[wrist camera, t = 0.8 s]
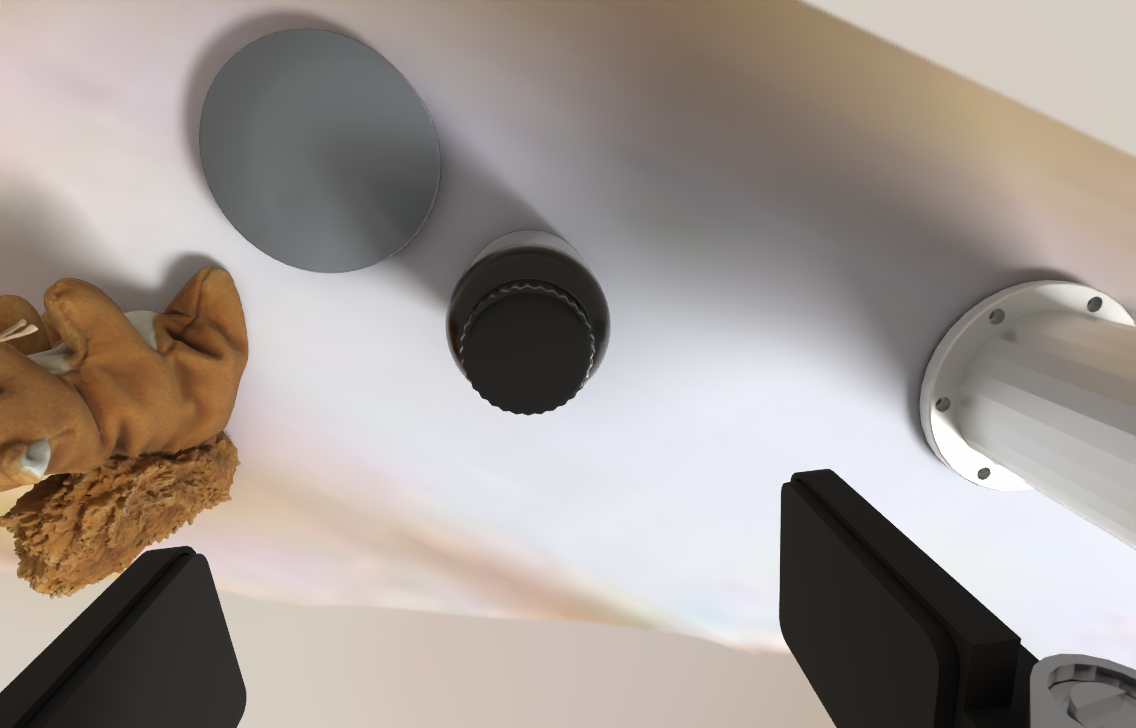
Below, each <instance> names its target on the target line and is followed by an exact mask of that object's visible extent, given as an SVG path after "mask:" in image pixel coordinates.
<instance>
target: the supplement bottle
mask: <svg viewBox="0 0 1136 728" xmlns="http://www.w3.org/2000/svg"><path fill="white" fill-rule="evenodd" d="M446 337H447V342H448V346H449V349H450V352H451V355H452V357H453V359H454V361H455V363H456V365H457V367H458V368H459V370H460V371H461V373H462V374H463V375H464V376H465V378H466V379H467V380H468V381H469V382H470V383H471V384H472V387H473V389H475V390H476V391H478V392H479V394H480V396H481V397H482V398H483V399H486V400H488V401H489V403H490V404H491V405H492V406H497V407H499V408H500V409H501V410H503V411H511V412H512V413H514V414H521V413H523V414H525V415H531V414H534V413H536V414H542V413H544V412H545V411H553V410H555V409H556V408H557V407H558V406H562V405H565V404H566V402H567V401H568V400H569V399H572V398H574V397H575V395H576V393H577V391H579V390H580V389H582V388H583V385H585V384H586V383H587V382H588V381H589V379H590V378H591V377H592V376H593V375H594V373H595V372H596V371H597V369H598V368H599V366H600V364H601V362H602V360H603V358H604V356H605V353H606V350H607V347H608V343H609V338H610V314H609V309H608V305H607V301H606V298H605V295H604V293H603V291H602V289H601V287H600V285H599V283H598V282H597V280H596V278H595V277H594V275H593V274H592V272H591V270H590V269H589V267H588V266H587V264H586V262H585V261H584V259H583V258H582V257H581V255H580V254H579V253H578V252H577V251H576V250H575V249H574V248H573V247H572V246H571V245H570V244H568V243H567V242H566V241H564V240H563V239H561V238H559V237H557V236H555V235H552V234H550V233H546V232H543V231H537V230H521V231H515V232H511V233H508V234H505V235H503V236H501V237H499V238H497V239H495V240H494V241H492V242H491V243H490V244H488V245H487V246H486V247H485V248H484V249H483V250H482V251H481V252H480V253H479V254H478V255H477V257H476V258H475V259H474V261H473V262H472V263H471V265H470V266H469V267H468V269H467V270H466V271H465V273H464V274H463V275H462V277H461V278H460V280H459V281H458V283H457V285H456V287H455V288H454V291H453V293H452V295H451V298H450V301H449V304H448V309H447V314H446Z"/></svg>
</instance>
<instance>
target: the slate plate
mask: <svg viewBox="0 0 1136 728" xmlns="http://www.w3.org/2000/svg"><path fill="white" fill-rule="evenodd" d="M199 143H200V155H201V160H202V165H203V170H204V173H205V176H206V179H207V182H208V185H209V188H210V190H211V192H212V194H213V196H214V198H215V200H216V202H217V204H218V205H219V207H220V209H221V210H222V212H223V213H224V215H225V216H226V218H227V219H228V220H229V221H230V223H231V224H232V225H233V226H234V228H235V229H236V230H237V231H238V232H239V233H240V234H241V235H242V236H243V237H244V238H245V239H246V240H248V241H249V242H250V243H251V244H253V245H254V246H255V247H256V248H258V249H259V250H261V251H262V252H264V253H265V254H267V255H269V256H270V257H272V258H274V259H276V260H278V261H280V262H282V263H285V264H287V265H290V266H293V267H296V268H299V269H303V270H308V271H313V272H321V273H342V272H349V271H354V270H359V269H362V268H365V267H368V266H371V265H374V264H376V263H378V262H380V261H382V260H384V259H386V258H388V257H390V256H392V255H394V254H395V253H397V252H398V251H399V250H401V249H402V248H404V247H405V246H406V245H407V244H408V243H409V242H410V241H411V240H412V239H413V238H414V237H415V236H416V235H417V233H418V232H419V231H420V230H421V229H422V227H423V225H424V224H425V222H426V221H427V219H428V217H429V215H430V213H431V211H432V208H433V206H434V204H435V200H436V197H437V194H438V190H439V183H440V177H441V156H440V147H439V142H438V138H437V133H436V130H435V127H434V124H433V121H432V119H431V116H430V114H429V112H428V110H427V108H426V106H425V104H424V102H423V100H422V99H421V97H420V96H419V94H418V93H417V91H416V90H415V88H414V87H413V86H412V85H411V84H410V82H409V81H408V80H407V79H406V78H405V77H404V76H403V75H402V74H401V73H400V72H399V71H398V70H397V69H396V68H395V67H394V66H393V65H391V64H390V63H389V62H388V61H387V60H386V59H385V58H383V57H382V56H381V55H379V54H378V53H376V52H375V51H374V50H372V49H371V48H369V47H367V46H365V45H363V44H362V43H360V42H358V41H356V40H354V39H351V38H348V37H346V36H343V35H341V34H337V33H333V32H328V31H324V30H315V29H292V30H286V31H281V32H276V33H273V34H270V35H267V36H265V37H262V38H260V39H258V40H256V41H254V42H252V43H250V44H248V45H247V46H245V47H244V48H243V49H241V50H240V51H239V52H238V53H236V54H235V55H234V56H233V57H232V58H231V59H230V60H229V61H228V62H227V63H226V64H225V65H224V66H223V68H222V69H221V71H220V72H219V73H218V75H217V76H216V78H215V79H214V81H213V83H212V85H211V87H210V89H209V91H208V94H207V97H206V100H205V103H204V106H203V110H202V115H201V120H200V133H199Z"/></svg>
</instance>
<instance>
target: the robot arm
mask: <svg viewBox="0 0 1136 728" xmlns="http://www.w3.org/2000/svg"><path fill="white" fill-rule="evenodd" d="M920 416H921V424H922V427H923V431H924V434H925V437H926V440H927V442H928V443H929V445H930V447H931V448H932V450H933V452H934V453H935V455H936V456H937V457H938V458H939V459H940V460H941V461H942V462H943V463H944V464H945V465H946V466H947V467H948V468H949V469H951V470H953V471H954V472H955V473H957V474H958V475H960V476H961V477H963V478H964V479H966V480H968V481H970V482H972V483H974V484H976V485H979V486H982V487H986V488H991V489H995V490H1007V491H1019V490H1026V489H1035V490H1036V491H1038V492H1040V493H1041V494H1043V495H1045V496H1046V497H1048V498H1050V499H1051V500H1053V501H1055V502H1057V503H1058V504H1060V505H1062V506H1063V507H1065V508H1067V509H1068V510H1070V511H1072V512H1073V513H1075V514H1077V515H1078V516H1080V517H1082V518H1083V519H1085V520H1087V521H1088V522H1090V523H1092V524H1093V525H1095V526H1097V527H1099V528H1100V529H1102V530H1104V531H1105V532H1107V533H1109V534H1110V535H1112V536H1114V537H1115V538H1117V539H1119V540H1120V541H1122V542H1124V543H1125V544H1127V545H1129V546H1130V547H1132V548H1134V549H1135V550H1136V325H1135V323H1134V321H1133V319H1132V317H1131V316H1130V315H1129V314H1128V312H1127V311H1126V310H1125V309H1124V307H1123V306H1122V305H1121V304H1120V303H1119V302H1117V301H1116V300H1115V299H1113V298H1112V297H1111V296H1109V295H1108V294H1107V293H1105V292H1102V291H1100V290H1098V289H1095V288H1093V287H1091V286H1088V285H1083V284H1078V283H1073V282H1068V281H1057V280H1040V281H1032V282H1025V283H1022V284H1019V285H1015V286H1012V287H1009V288H1006V289H1003V290H1001V291H999V292H997V293H996V294H994V295H992V296H990V297H988V298H986V299H984V300H983V301H981V302H980V303H978V304H977V305H976V306H974V307H973V308H972V309H970V310H969V311H968V312H966V313H965V314H964V315H963V316H962V317H961V318H960V319H959V320H958V321H957V322H956V323H955V324H954V325H953V326H952V327H951V328H950V329H949V331H948V332H947V334H946V335H945V336H944V338H943V339H942V341H941V342H940V343H939V345H938V346H937V348H936V350H935V352H934V354H933V356H932V358H931V360H930V362H929V364H928V366H927V369H926V372H925V376H924V379H923V383H922V386H921V395H920ZM779 620H780V627H781V631H782V634H783V637H784V639H785V641H786V643H787V645H788V647H789V649H790V650H791V652H792V654H793V655H794V657H795V658H796V660H797V662H798V663H799V665H800V667H801V669H802V670H803V672H804V674H805V675H806V677H807V679H808V680H809V682H810V684H811V685H812V687H813V689H814V691H815V692H816V694H817V695H818V697H819V699H820V701H821V702H822V704H823V706H824V707H825V709H826V711H827V712H828V714H829V716H830V717H831V719H832V721H833V722H834V724H835V726H836V727H837V728H1136V670H1135V669H1132V668H1129V667H1126V666H1124V665H1121V664H1118V663H1115V662H1112V661H1110V660H1106V659H1102V658H1097V657H1092V656H1087V655H1082V654H1058V655H1054V656H1049V657H1045V658H1043V659H1042V660H1040V661H1039V660H1038V659H1037V658H1036V657H1035V656H1033V655H1032V654H1031V653H1030V652H1029V651H1028V650H1027V649H1026V648H1025V647H1024V646H1022V645H1021V644H1020V643H1021V638H1020V637H1019V636H1018V635H1017V634H1015V633H1014V632H1013V631H1012V630H1011V629H1010V628H1009V627H1008V626H1006V625H1005V624H1004V623H1003V622H1002V621H1001V620H1000V619H999V618H997V617H996V616H995V615H994V614H993V613H992V612H991V611H990V610H988V609H987V608H986V607H985V606H984V605H983V604H982V603H981V602H980V601H978V600H977V599H976V598H975V597H974V596H973V595H972V594H971V593H969V592H968V591H967V590H966V589H965V588H964V587H963V586H962V585H960V584H959V583H958V582H957V581H956V580H955V579H954V578H953V577H951V576H950V575H949V574H948V573H947V572H946V571H945V570H944V569H942V568H941V567H940V566H939V565H938V564H937V563H936V562H935V561H933V560H932V559H931V558H930V557H929V556H928V555H927V554H926V553H924V552H923V551H922V550H921V549H920V548H919V547H918V546H917V545H916V544H914V543H913V542H912V541H911V540H910V539H909V538H908V537H907V536H905V535H904V534H903V533H902V532H901V531H900V530H899V529H898V528H896V527H895V526H894V525H893V524H892V523H891V522H890V521H889V520H887V519H886V518H885V517H884V516H883V515H882V514H881V513H880V512H878V511H877V510H876V509H875V508H874V507H873V506H872V505H871V504H869V503H868V502H867V501H866V500H865V499H864V498H863V497H862V496H860V495H859V494H858V493H857V492H856V491H855V490H854V489H853V488H852V487H850V486H849V485H848V484H847V483H846V482H845V481H844V480H843V479H841V478H840V477H839V476H838V475H837V474H836V473H835V472H834V471H832V470H830V469H822V470H814V471H806V472H797V473H794V474H793V475H792V478H791V481H790V482H787V483H784V484H783V486H782V489H781V534H780V601H779ZM245 706H246V689H245V685H244V682H243V679H242V675H241V672H240V668H239V665H238V661H237V658H236V655H235V652H234V648H233V645H232V642H231V638H230V635H229V631H228V628H227V625H226V621H225V618H224V614H223V612H222V608H221V605H220V601H219V598H218V594H217V591H216V588H215V584H214V581H213V578H212V574H211V571H210V568H209V564H208V561H207V559H206V557H205V556H204V555H202V554H196V552H195V551H194V550H193V549H192V548H191V547H189V546H181V547H173V548H165V549H156V550H150V551H146V552H145V553H143V554H142V555H141V556H140V557H139V558H138V559H137V560H136V561H134V562H133V563H132V564H131V565H130V566H129V567H128V568H127V569H126V570H125V571H124V572H123V573H122V574H121V575H120V576H119V577H118V578H117V579H116V580H115V581H114V582H113V583H112V584H111V585H110V586H109V587H108V588H107V589H106V590H105V591H104V592H103V593H102V594H101V595H100V596H99V597H98V598H97V599H96V600H95V601H94V602H93V603H92V604H91V605H90V606H89V607H88V608H87V609H85V611H83V612H82V613H81V614H80V615H79V616H78V617H77V618H76V619H75V620H74V621H73V622H72V623H71V624H70V625H69V626H68V627H67V628H66V629H65V630H64V631H63V632H62V633H61V634H60V635H59V636H58V637H57V638H56V639H55V640H54V641H53V642H52V643H51V644H50V645H49V646H48V647H47V648H46V649H45V650H44V651H43V652H42V653H41V654H40V655H39V656H37V657H36V658H35V659H34V660H33V661H32V662H31V663H30V664H29V665H28V666H27V667H26V668H25V669H24V670H23V671H22V672H21V673H20V674H19V675H18V676H17V677H16V678H15V679H14V680H13V681H12V682H11V683H10V684H9V685H8V686H7V687H6V688H5V689H4V690H3V691H2V692H1V693H0V728H237V726H238V724H239V722H240V720H241V718H242V716H243V713H244V710H245Z"/></svg>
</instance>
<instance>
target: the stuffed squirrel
mask: <svg viewBox="0 0 1136 728" xmlns="http://www.w3.org/2000/svg"><path fill="white" fill-rule="evenodd" d="M44 305H45V308H46V310H47V311H45V313H44V314H43V315H42V316H41V317H40V316H39V314H38V312H37V311H36V310H35V308H34V307H33V306H32V305H31V304H30V303H29V302H27V301H26V300H25V299H23V298H21V297H18V296H14V295H3V296H0V492H3V491H6V490H10V489H13V488H17V487H20V486H23V485H30V484H34V487H33V489H32V490H31V491H29V492H26V493H25V494H24V495H23V496H22V497H21V498H19V499H17V502H16V505H15V506H14V507H13V508H11V509H10V512H7V513H6V514H5V516H1V517H0V526H1V527H7V531H8V530H9V532H10V533H14V534H15V535H14V537H13V538H17V540H16V541H15V542H14V544H15V545H17V546H15V547H16V549H15V550H14V551H16V553H15V554H16V555H18V556H19V559H21V562H20V563H19V564H18V565H20V566H19V568H18V570H17V576H18V578H20V579H21V578H24V577H25V580H27V581H29V582H30V588H33V590H35V591H37V592H38V593H42V594H43V595H44V594H45V593H46V592H47V593H46V594H50V597H51V599H53V598H54V596H55V595H58V598H60V597H62V596H63V594H65V595H66V596H69V597H70V596H71V595H72V594H74V593H76V592H77V591H79V590H80V589H83V588H84V587H85V586H86V585H87V584H95V583H96V582H97V583H98V582H99V581H100V580H103V579H104V578H105V577H107V576H108V575H110V574H112V573H113V572H118V573H121V572H122V571H123V570H124V568H128V567H129V566H130V563H131V562H132V560H133V559H134V558H135V557H136V556H137V555H138V554H139V553H140V552H141V551H142V550H143V549H144V548H145V547H146V546H149V545H152V543H153V542H154V541H155V540H156V541H157V542H158V543H160V542H161V541H162V540H163V539H164V538H166V539H168V538H169V535H170V533H173V534H175V533H176V531H177V530H178V528H179V527H182V526H183V524H184V522H185V521H186V520H187V521H188V523H189V525H191V524H192V523H193V519H194V517H196V514H197V513H200V512H201V511H202V510H203V509H204V508H206V509H212V506H216V505H218V503H220V502H224V501H225V502H226V501H227V500H230V501H231V499H232V498H231V497H230V498H229V488H230V487H231V485H232V484H233V475H234V473H235V471H236V466H238V465H241V464H240V462H239V461H238V457H237V448H235V446H234V445H233V444H232V443H231V441H230V439H228V438H227V436H226V435H225V434H224V433H223V432H222V430H223V429H224V428H225V427H226V425H227V424H228V421H229V418H230V416H231V413H232V410H233V407H234V403H235V399H236V395H237V391H238V387H239V383H240V379H241V376H242V373H243V371H244V369H245V367H246V364H247V360H248V341H247V330H246V325H245V318H244V313H243V309H242V304H241V301H240V297H239V294H238V292H237V289H236V287H235V285H234V281H233V278H232V276H231V275H230V273H229V272H227V271H225V270H222V269H217V268H212V267H206V268H204V269H202V270H201V271H200V272H198V273H196V274H195V275H194V276H193V278H192V279H190V280H189V281H188V283H187V284H186V285H185V286H184V287H183V289H182V290H181V291H180V292H179V293H178V295H177V296H176V297H175V299H174V300H173V302H172V303H171V304H170V305H169V307H168V308H167V309H166V310H165V312H164V313H163V314H159V313H156V312H153V311H148V310H137V311H132V312H126V313H123V312H122V311H121V309H120V308H119V307H118V306H117V305H116V303H114V302H113V301H112V300H111V299H110V298H109V297H108V296H107V295H106V294H105V293H104V292H103V291H102V290H100V289H99V288H97V287H96V286H94V285H92V284H89V283H87V282H85V281H82V280H78V279H73V278H65V279H61V280H58V281H57V282H56V283H55V284H54V285H53V286H51V287H49V288H48V289H47V291H46V292H45V293H44ZM48 474H55V475H51V476H49V477H48V478H47V479H45V480H42V481H41V479H42V477H43V475H48Z"/></svg>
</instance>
